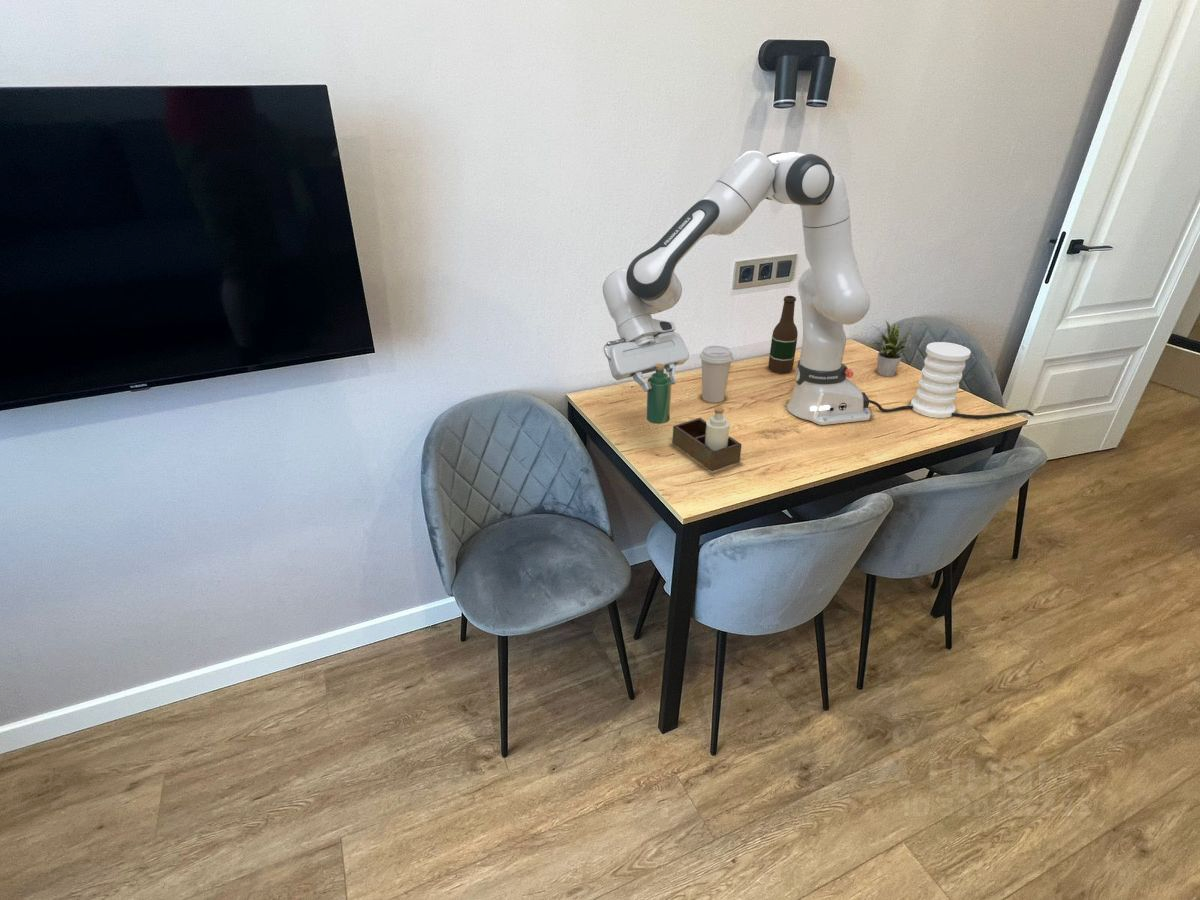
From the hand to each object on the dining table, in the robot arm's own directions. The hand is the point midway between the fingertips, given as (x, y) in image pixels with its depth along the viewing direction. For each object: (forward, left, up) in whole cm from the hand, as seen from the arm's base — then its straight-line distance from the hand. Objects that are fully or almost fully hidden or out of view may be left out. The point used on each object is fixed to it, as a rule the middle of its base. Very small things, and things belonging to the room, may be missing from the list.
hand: (660, 387), depth 149 cm
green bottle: (0, -1, -8) cm, 8 cm away
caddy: (-12, -3, -20) cm, 24 cm away
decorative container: (-80, -27, -20) cm, 87 cm away
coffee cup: (-19, -36, -20) cm, 46 cm away
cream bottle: (-14, 0, -19) cm, 24 cm away
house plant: (-76, -54, -20) cm, 96 cm away
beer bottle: (-44, -57, -20) cm, 75 cm away
